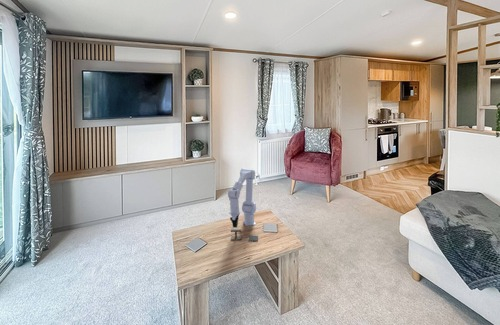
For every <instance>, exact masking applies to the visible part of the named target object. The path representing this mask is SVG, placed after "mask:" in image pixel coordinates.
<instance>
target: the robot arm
mask: <svg viewBox="0 0 500 325" xmlns="http://www.w3.org/2000/svg"><path fill="white" fill-rule="evenodd" d="M239 171H240V172H239V178H238V181H235V183H234V185H233V186H232V188H231V189H229V190H228V193H227V197H228V200H229V205H230V206H229V207H230V211H229V212H228V214H229V215H230V218H229V219H230V221H231V223H232V228H233V227H237V228H238V225H237V221H238V222H239V218H240V217H239V216H240V213H241V212H240V205H239V203H240V202H239V200H240V199H239V198H240V194H241V191H242V189H243V187H244V185H243V184H244V182H245V181H246V182H245V183H246V184H245V200H244V201H243V202H242V207H241V211H242V212H243V215H244V216H243V220H242V222H243V223H244V225H245V227H247V226H255V225H256V222H255V215H254V214H255V213H256V211H257V206H256V202H255V201H254V200H253V187H254V186H253V182H254V180H255V178H256V171H255V170H254V169H253V168H252V169H250V168H241V169H240V170H239ZM236 217H238V218H236Z"/></svg>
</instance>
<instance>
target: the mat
mask: <svg viewBox="0 0 500 325" xmlns="http://www.w3.org/2000/svg"><path fill="white" fill-rule="evenodd" d="M248 242H259V235H249V236H248Z"/></svg>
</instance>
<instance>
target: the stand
mask: <svg viewBox="0 0 500 325" xmlns="http://www.w3.org/2000/svg"><path fill="white" fill-rule="evenodd" d="M230 233H234V234H233V235H231V236H230V241H242V235H241V234H240V235H239V234H238V233H242V229H239V228H231V229H230Z"/></svg>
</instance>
